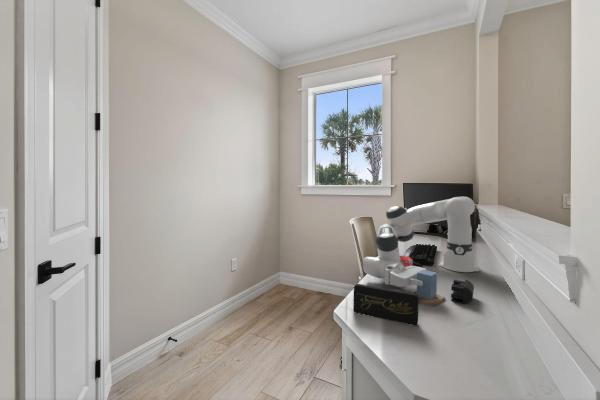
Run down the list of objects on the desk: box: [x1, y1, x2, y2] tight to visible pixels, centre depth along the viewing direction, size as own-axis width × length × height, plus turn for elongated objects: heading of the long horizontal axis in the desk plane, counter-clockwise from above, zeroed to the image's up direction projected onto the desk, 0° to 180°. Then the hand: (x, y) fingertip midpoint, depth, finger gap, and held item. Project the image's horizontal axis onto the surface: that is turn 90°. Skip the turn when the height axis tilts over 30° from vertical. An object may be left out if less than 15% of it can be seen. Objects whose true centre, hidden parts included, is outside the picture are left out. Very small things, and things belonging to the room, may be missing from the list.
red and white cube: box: [400, 255, 413, 267], centre depth 141 cm, size 8×8×8 cm
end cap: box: [450, 279, 475, 305], centre depth 107 cm, size 10×7×7 cm
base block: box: [413, 290, 446, 307], centre depth 108 cm, size 10×10×8 cm
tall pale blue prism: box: [416, 269, 438, 300], centre depth 108 cm, size 5×5×10 cm
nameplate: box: [352, 283, 420, 327], centre depth 92 cm, size 21×2×10 cm, turn 63°
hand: (428, 280), depth 107 cm, fingers open, 8 cm apart
